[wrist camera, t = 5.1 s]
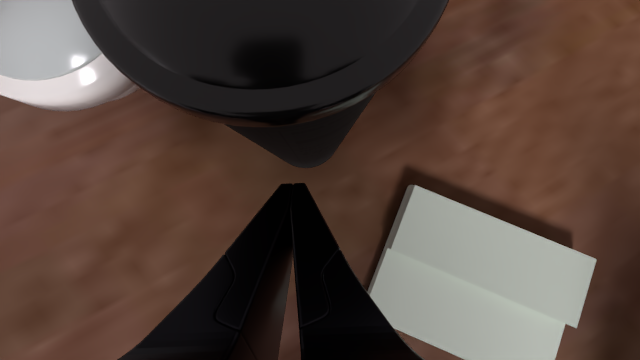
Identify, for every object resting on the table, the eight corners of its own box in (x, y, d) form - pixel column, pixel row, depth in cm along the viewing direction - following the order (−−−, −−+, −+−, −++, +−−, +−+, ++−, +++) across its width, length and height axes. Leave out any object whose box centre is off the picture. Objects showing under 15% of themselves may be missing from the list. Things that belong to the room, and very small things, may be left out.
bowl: (228, 46, 19) (193, -14, 14) (109, 161, 18) (25, 142, 13) (121, -49, 20) (52, -138, 15) (4, 55, 19) (-113, -1, 14)
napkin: (573, 253, 17) (597, 257, 16) (533, 385, 16) (554, 403, 15) (407, 185, 18) (415, 183, 16) (360, 309, 17) (364, 319, 15)
